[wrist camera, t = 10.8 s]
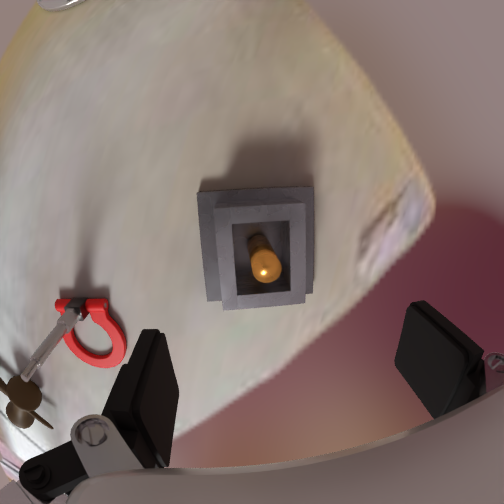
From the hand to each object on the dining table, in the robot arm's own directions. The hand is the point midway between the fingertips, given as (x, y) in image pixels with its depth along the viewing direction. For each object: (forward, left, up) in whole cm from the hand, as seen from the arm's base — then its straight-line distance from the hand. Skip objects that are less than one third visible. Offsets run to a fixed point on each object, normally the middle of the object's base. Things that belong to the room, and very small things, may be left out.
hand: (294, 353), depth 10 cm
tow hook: (+9, -19, -17) cm, 27 cm away
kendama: (+20, -40, -18) cm, 48 cm away
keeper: (0, 0, -17) cm, 17 cm away
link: (0, 0, -16) cm, 16 cm away
